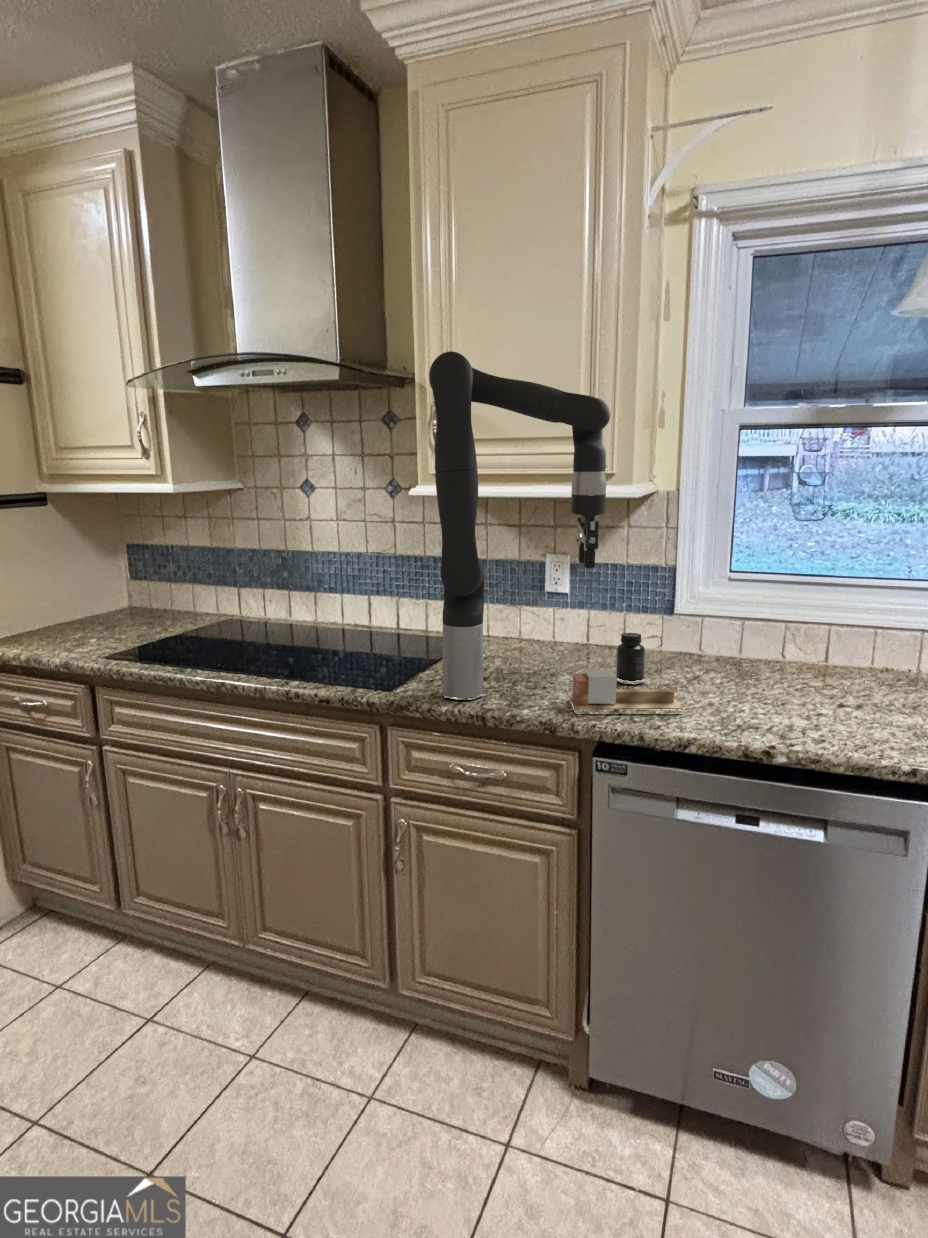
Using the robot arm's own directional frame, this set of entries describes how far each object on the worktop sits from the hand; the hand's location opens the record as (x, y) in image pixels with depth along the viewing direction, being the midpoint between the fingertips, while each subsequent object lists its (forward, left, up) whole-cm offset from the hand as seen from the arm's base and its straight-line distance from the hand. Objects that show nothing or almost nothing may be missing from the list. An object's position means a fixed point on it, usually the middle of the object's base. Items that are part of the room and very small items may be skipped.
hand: (586, 565), depth 164 cm
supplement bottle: (+13, +9, -30) cm, 34 cm away
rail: (+8, -11, -30) cm, 33 cm away
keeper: (+2, -11, -28) cm, 30 cm away
